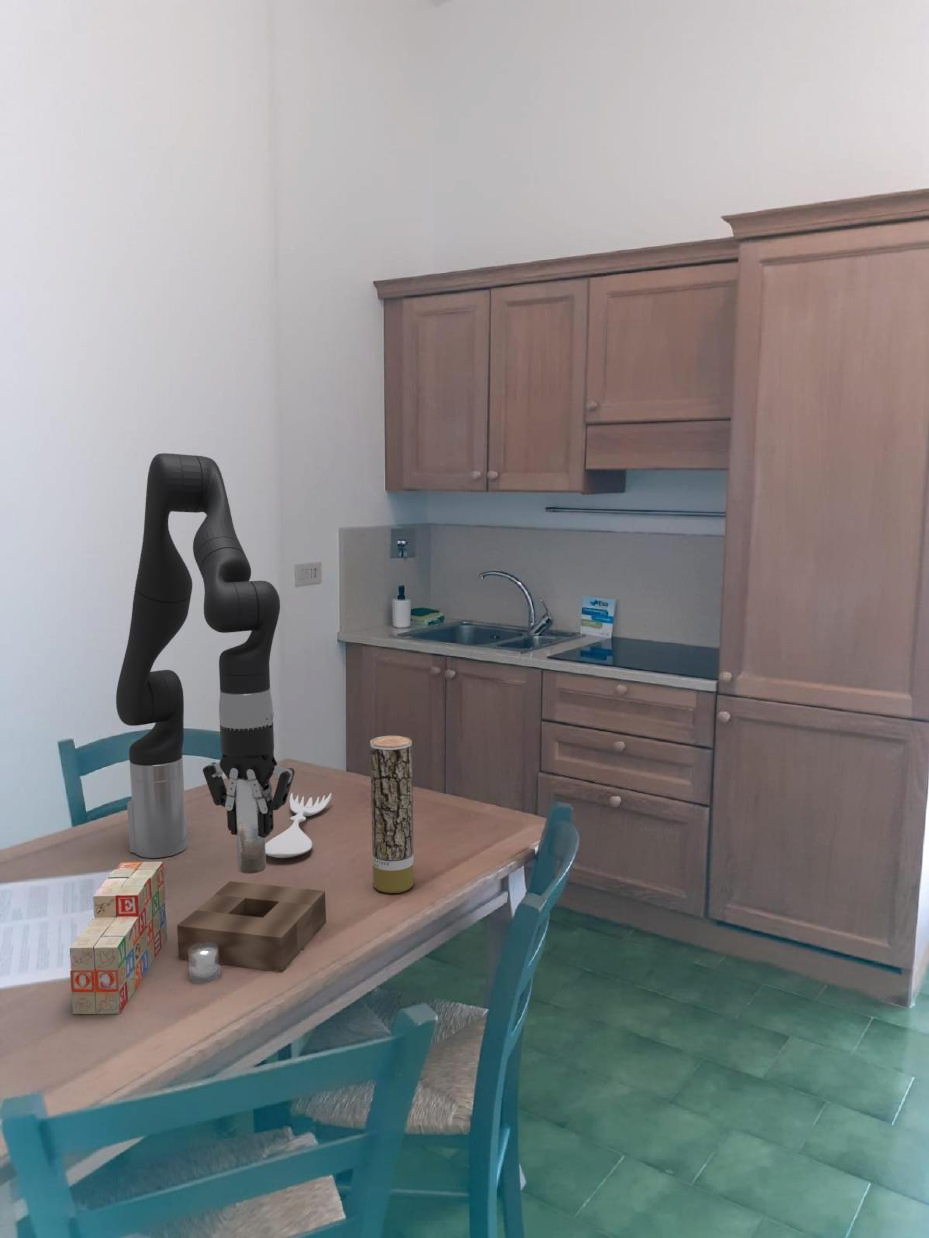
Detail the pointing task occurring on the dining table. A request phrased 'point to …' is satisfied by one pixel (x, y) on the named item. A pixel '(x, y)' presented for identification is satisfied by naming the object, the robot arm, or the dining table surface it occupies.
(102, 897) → the stack of blocks
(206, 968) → the grey metal cylinder
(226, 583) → the robot arm
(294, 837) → the spoon
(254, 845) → the long pin
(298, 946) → the hole block
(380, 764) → the paper tube
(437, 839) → the dining table surface
